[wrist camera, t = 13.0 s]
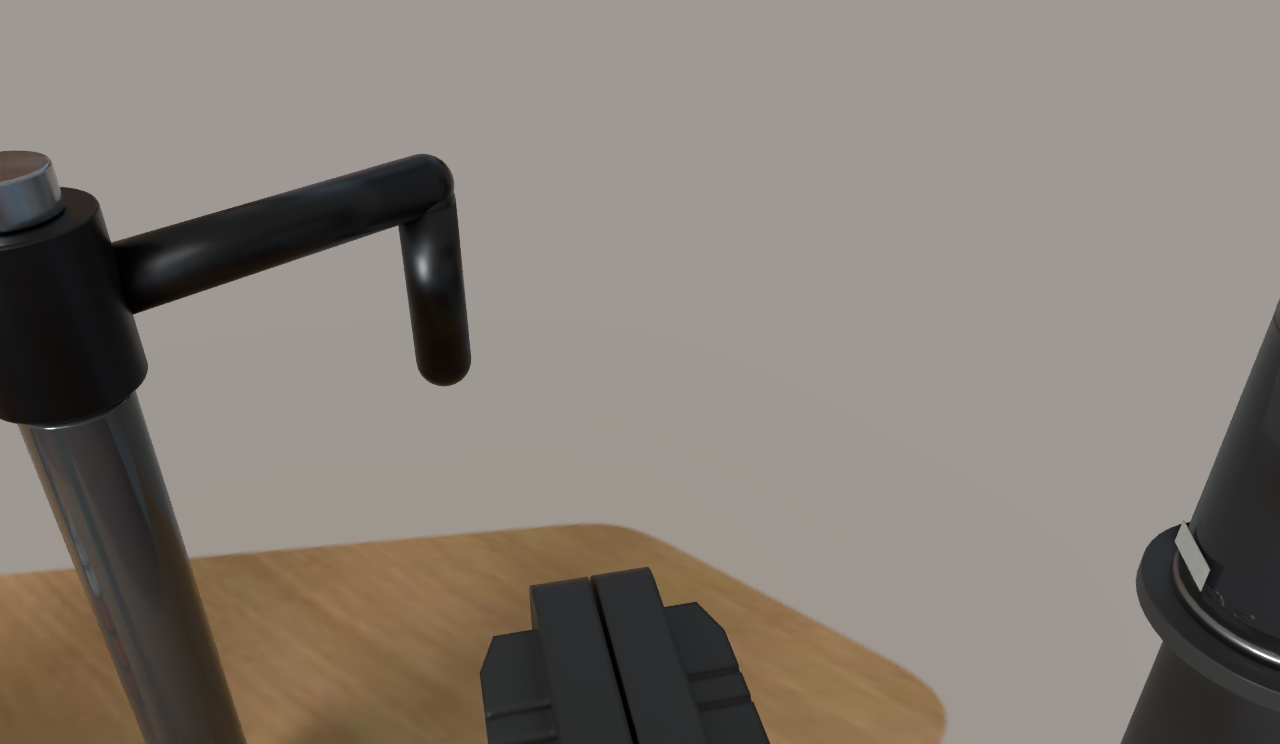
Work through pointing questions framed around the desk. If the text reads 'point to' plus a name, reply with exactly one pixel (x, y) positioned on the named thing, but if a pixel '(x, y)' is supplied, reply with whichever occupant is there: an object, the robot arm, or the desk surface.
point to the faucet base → (136, 572)
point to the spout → (196, 274)
